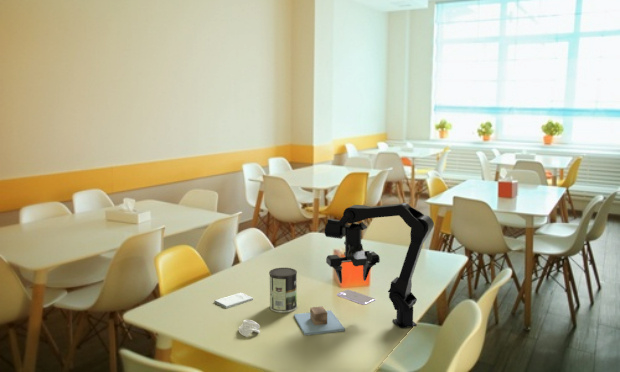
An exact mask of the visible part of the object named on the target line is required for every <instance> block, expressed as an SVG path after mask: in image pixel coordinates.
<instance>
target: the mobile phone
mask: <svg viewBox="0 0 620 372" xmlns="http://www.w3.org/2000/svg"><path fill="white" fill-rule="evenodd" d="M336 296H338V297H340V298H343V299H346V300H349V301H352V302H354V303H357V304H360V305H363V306H365V305H368V304H371V303H373V302H375V301H376V298H374V297H372V296H369V295H366V294H363V293H360V292H356V291H353V290H351V289H345V290H343V291H339V292H338V293H336Z"/></svg>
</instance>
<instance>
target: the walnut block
mask: <svg viewBox="0 0 620 372" xmlns="http://www.w3.org/2000/svg"><path fill="white" fill-rule="evenodd" d="M309 311H310V312H309V313H310V319H311V320H312V322H313V323H314V325H322V324H327V312H326V311H327V310H326V309H325V308H324V307H323V306H313V307H310V308H309Z"/></svg>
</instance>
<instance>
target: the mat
mask: <svg viewBox="0 0 620 372" xmlns="http://www.w3.org/2000/svg"><path fill="white" fill-rule="evenodd" d="M326 312H327V324H322V325H314V323H313V322H312V320H311V319H310V312H304V313H303V312H302V313H294V314H293V317H294V319H295V320H296V322H297V324H298V327H300V330H301V332H302V333H303V335H304V336H311V335H320V334H329V333H337V332H345V331H346V329H345V326H344V325H343V324H342V323H341V321H340V319H338V318H337V316H336V314H334V312H333V311H332V310H326Z"/></svg>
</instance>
